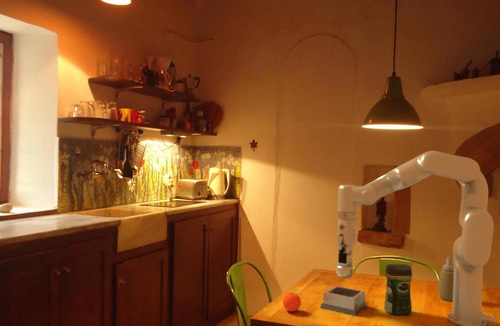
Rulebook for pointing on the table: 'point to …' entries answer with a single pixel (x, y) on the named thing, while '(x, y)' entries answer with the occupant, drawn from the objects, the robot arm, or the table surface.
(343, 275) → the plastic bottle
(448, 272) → the squeeze bottle
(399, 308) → the coffee jar
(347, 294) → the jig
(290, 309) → the clementine
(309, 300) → the table surface
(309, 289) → the table surface
